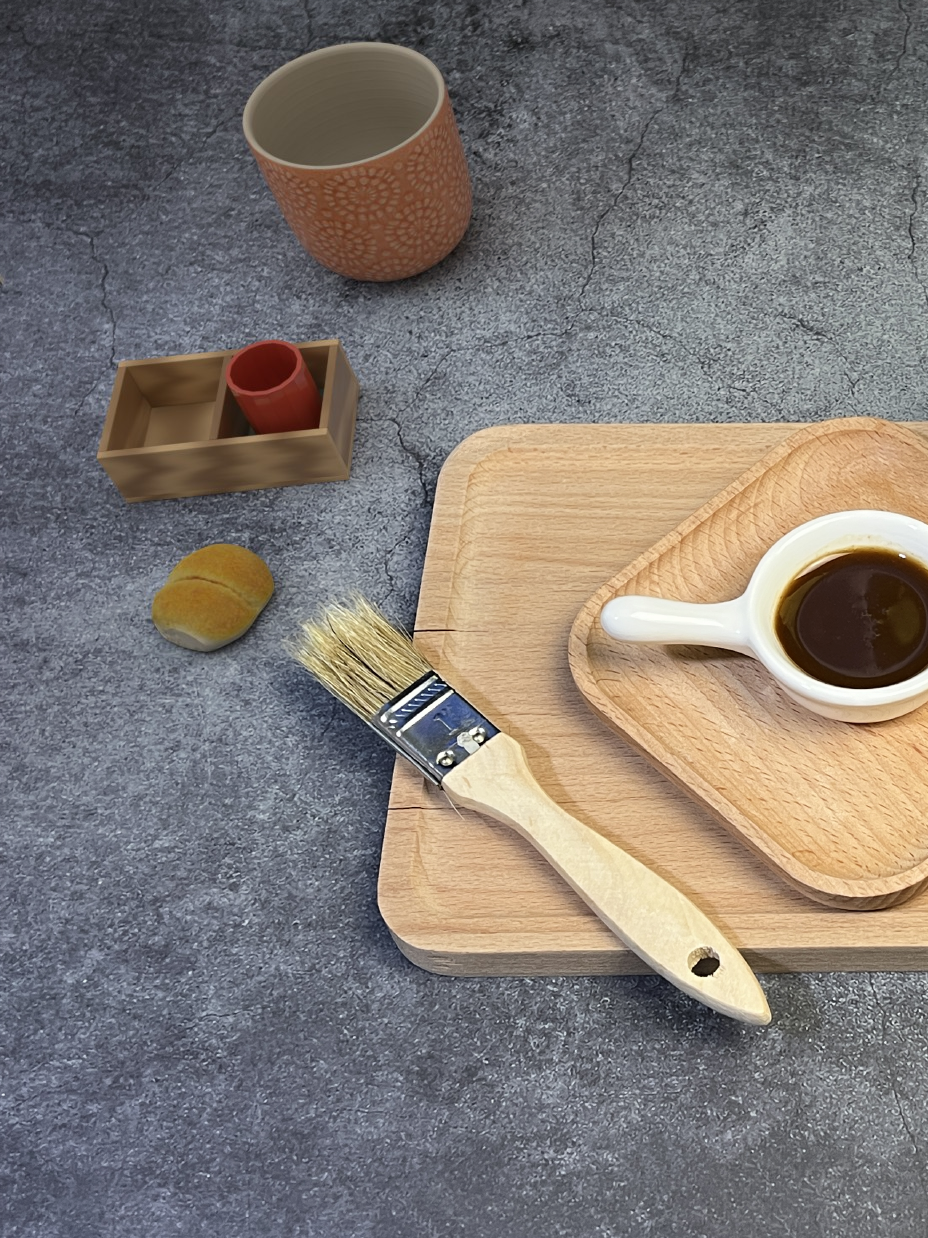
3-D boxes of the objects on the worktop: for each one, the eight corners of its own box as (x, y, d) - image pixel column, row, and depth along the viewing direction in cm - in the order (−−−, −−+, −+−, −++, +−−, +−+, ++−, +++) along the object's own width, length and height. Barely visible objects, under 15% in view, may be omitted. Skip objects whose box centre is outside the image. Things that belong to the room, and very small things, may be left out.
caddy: (127, 503, 123) (95, 458, 118) (148, 407, 129) (119, 361, 124) (349, 479, 123) (326, 434, 119) (360, 385, 129) (338, 338, 125)
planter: (272, 238, 140) (207, 98, 128) (431, 158, 146) (383, 16, 133) (359, 336, 133) (299, 198, 120) (523, 248, 138) (482, 107, 125)
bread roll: (294, 572, 118) (276, 541, 115) (233, 664, 114) (212, 634, 110) (205, 548, 120) (184, 516, 117) (140, 637, 115) (117, 607, 112)
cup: (256, 461, 124) (220, 398, 118) (264, 407, 127) (230, 343, 121) (329, 454, 124) (297, 390, 118) (336, 400, 127) (305, 336, 121)
